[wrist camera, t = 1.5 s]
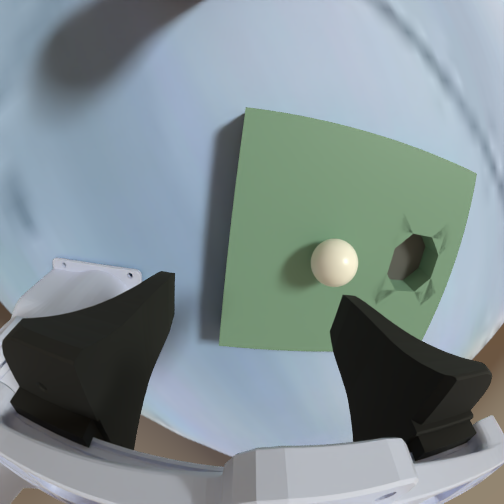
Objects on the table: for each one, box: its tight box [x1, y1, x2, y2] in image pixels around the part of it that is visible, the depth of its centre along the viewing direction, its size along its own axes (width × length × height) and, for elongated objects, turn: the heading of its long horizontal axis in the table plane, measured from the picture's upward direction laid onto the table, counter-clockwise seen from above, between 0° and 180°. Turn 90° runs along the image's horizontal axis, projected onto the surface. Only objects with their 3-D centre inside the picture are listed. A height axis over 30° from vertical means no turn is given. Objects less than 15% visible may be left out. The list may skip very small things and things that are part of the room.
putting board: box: [219, 107, 477, 351], centre depth 21 cm, size 20×18×2 cm
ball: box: [311, 239, 358, 287], centre depth 18 cm, size 3×3×3 cm
